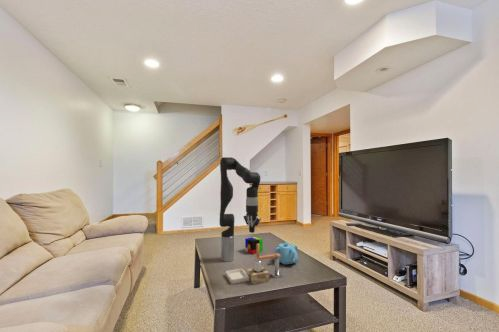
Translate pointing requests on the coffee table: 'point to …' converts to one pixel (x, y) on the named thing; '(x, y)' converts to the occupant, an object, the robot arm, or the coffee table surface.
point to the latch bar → (266, 255)
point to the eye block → (258, 276)
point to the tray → (237, 276)
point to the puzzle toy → (253, 245)
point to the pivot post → (277, 269)
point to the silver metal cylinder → (257, 266)
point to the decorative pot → (287, 253)
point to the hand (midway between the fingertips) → (251, 232)
